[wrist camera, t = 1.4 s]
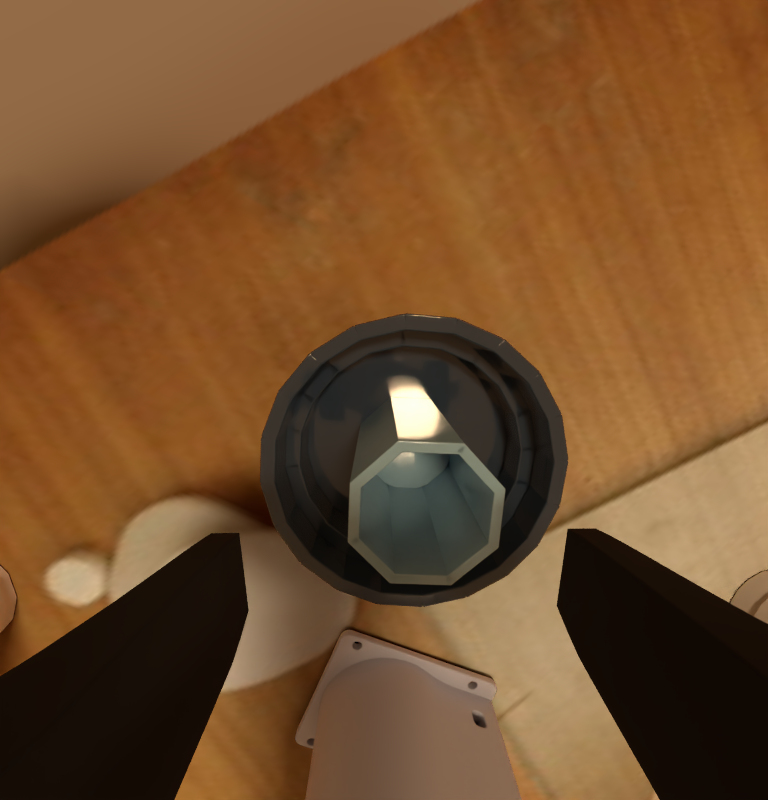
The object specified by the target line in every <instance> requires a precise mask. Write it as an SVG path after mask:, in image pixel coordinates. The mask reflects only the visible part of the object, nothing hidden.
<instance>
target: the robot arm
mask: <svg viewBox="0 0 768 800" xmlns="http://www.w3.org/2000/svg"><path fill="white" fill-rule="evenodd" d="M557 607H558V610H559V612H560V615H561V617H562V619H563V622H564V624H565V627H566V629H567V631H568V634H569V636H570V638H571V640H572V643H573V645H574V647H575V649H576V652H577V654H578V656H579V658H580V660H581V662H582V663H583V665H584V667H585V669H586V671H587V672H588V674H589V676H590V678H591V680H592V681H593V683H594V685H595V687H596V689H597V690H598V692H599V694H600V696H601V697H602V699H603V701H604V703H605V705H606V706H607V708H608V710H609V712H610V713H611V715H612V717H613V719H614V720H615V722H616V724H617V726H618V727H619V729H620V731H621V733H622V734H623V736H624V738H625V740H626V741H627V743H628V745H629V747H630V748H631V750H632V752H633V754H634V755H635V757H636V759H637V761H638V762H639V764H640V766H641V768H642V769H643V771H644V773H645V775H646V776H647V778H648V780H649V782H650V783H651V785H652V787H653V789H654V790H655V792H656V794H657V796H658V798H659V799H660V800H768V624H767V623H765V622H763V621H762V620H760V619H758V618H756V617H754V616H752V615H750V614H748V613H747V612H745V611H743V610H741V609H739V608H737V607H736V606H734V605H732V604H730V603H728V602H727V601H725V600H723V599H721V598H719V597H718V596H716V595H714V594H712V593H710V592H709V591H707V590H705V589H703V588H702V587H700V586H698V585H696V584H695V583H693V582H691V581H689V580H687V579H686V578H684V577H682V576H681V575H679V574H677V573H675V572H674V571H672V570H670V569H668V568H667V567H665V566H663V565H661V564H660V563H658V562H656V561H654V560H653V559H651V558H649V557H647V556H646V555H644V554H642V553H640V552H639V551H637V550H635V549H633V548H632V547H630V546H628V545H626V544H624V543H623V542H621V541H619V540H617V539H615V538H613V537H612V536H610V535H608V534H606V533H604V532H602V531H599V530H597V529H568V531H567V538H566V545H565V552H564V559H563V566H562V573H561V580H560V587H559V594H558V601H557ZM248 611H249V610H248V602H247V593H246V585H245V577H244V569H243V560H242V552H241V544H240V536H239V533H211V534H210V535H208V536H206V537H205V538H203V539H202V540H200V541H199V542H197V543H196V544H194V545H193V546H191V547H190V548H189V549H187V550H186V551H184V552H183V553H182V554H180V555H179V556H178V557H176V558H175V559H173V560H172V561H171V562H169V563H168V564H166V565H165V566H164V567H162V568H161V569H160V570H158V571H157V572H155V573H154V574H153V575H151V576H150V577H148V578H147V579H146V580H144V581H143V582H141V583H140V584H139V585H137V586H136V587H134V588H133V589H132V590H130V591H129V592H127V593H126V594H125V595H123V596H122V597H120V598H119V599H118V600H116V601H115V602H113V603H112V604H110V605H109V606H107V607H106V608H104V609H103V610H101V611H100V612H98V613H97V614H95V615H94V616H92V617H91V618H90V619H88V620H87V621H85V622H84V623H82V624H81V625H79V626H78V627H76V628H75V629H73V630H72V631H70V632H69V633H67V634H66V635H64V636H63V637H61V638H60V639H58V640H57V641H55V642H54V643H52V644H51V645H49V646H48V647H46V648H45V649H43V650H42V651H40V652H39V653H37V654H35V655H34V656H32V657H31V658H29V659H28V660H26V661H24V662H23V663H21V664H20V665H18V666H16V667H15V668H13V669H12V670H10V671H8V672H7V673H5V674H3V675H2V676H0V800H174V799H175V797H176V794H177V792H178V790H179V788H180V785H181V783H182V781H183V778H184V776H185V774H186V771H187V769H188V767H189V764H190V762H191V760H192V757H193V755H194V753H195V750H196V748H197V746H198V743H199V741H200V739H201V736H202V734H203V732H204V729H205V727H206V725H207V722H208V720H209V718H210V715H211V713H212V711H213V708H214V706H215V704H216V701H217V699H218V696H219V694H220V692H221V689H222V687H223V685H224V682H225V680H226V677H227V675H228V673H229V670H230V668H231V665H232V663H233V660H234V657H235V654H236V651H237V647H238V644H239V641H240V638H241V635H242V631H243V628H244V624H245V621H246V618H247V614H248ZM354 642H360V643H359V644H356V643H354ZM472 681H473V682H472ZM470 682H472V683H470ZM496 692H497V687H496V684H495V682H494V680H493V679H491V678H488V677H486V676H483V675H480V674H477V673H474V672H471V671H468V670H465V669H462V668H460V667H457V666H454V665H451V664H448V663H445V662H442V661H439V660H437V659H434V658H431V657H428V656H425V655H422V654H419V653H416V652H414V651H411V650H408V649H405V648H402V647H399V646H396V645H393V644H391V643H388V642H385V641H382V640H379V639H376V638H373V637H370V636H368V635H365V634H362V633H359V632H356V631H353V630H345V631H344V632H342V634H341V635H340V637H339V639H338V642H337V644H336V646H335V648H334V650H333V652H332V655H331V657H330V659H329V661H328V663H327V665H326V668H325V670H324V672H323V674H322V676H321V678H320V681H319V683H318V685H317V687H316V689H315V691H314V694H313V696H312V698H311V700H310V702H309V704H308V707H307V709H306V711H305V713H304V715H303V717H302V720H301V722H300V724H299V726H298V728H297V731H296V736H295V740H296V742H297V743H298V744H299V745H302V746H305V747H308V748H311V749H313V753H312V760H311V766H310V773H309V779H308V786H307V792H306V799H305V800H521V796H520V793H519V790H518V787H517V783H516V780H515V777H514V774H513V770H512V767H511V764H510V760H509V757H508V754H507V751H506V747H505V744H504V741H503V738H502V734H501V731H500V728H499V724H498V721H497V718H496V715H495V711H494V708H493V705H492V702H491V701H492V699H493V697H494V696H495V694H496Z"/></svg>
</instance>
